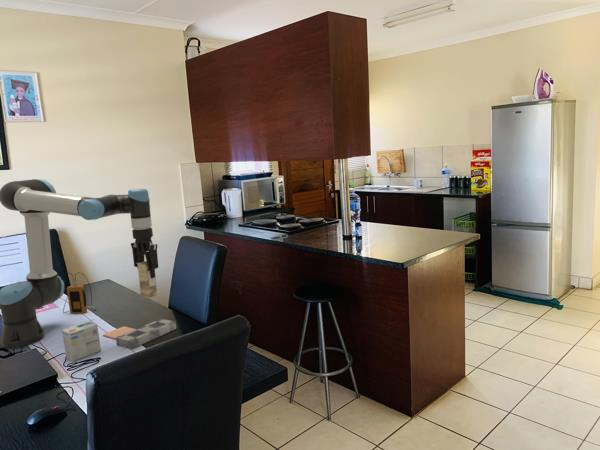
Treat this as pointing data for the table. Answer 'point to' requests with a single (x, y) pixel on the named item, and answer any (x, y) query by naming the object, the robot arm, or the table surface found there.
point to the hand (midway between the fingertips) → (148, 284)
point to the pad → (118, 332)
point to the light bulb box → (81, 340)
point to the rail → (145, 333)
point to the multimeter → (77, 298)
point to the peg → (145, 281)
